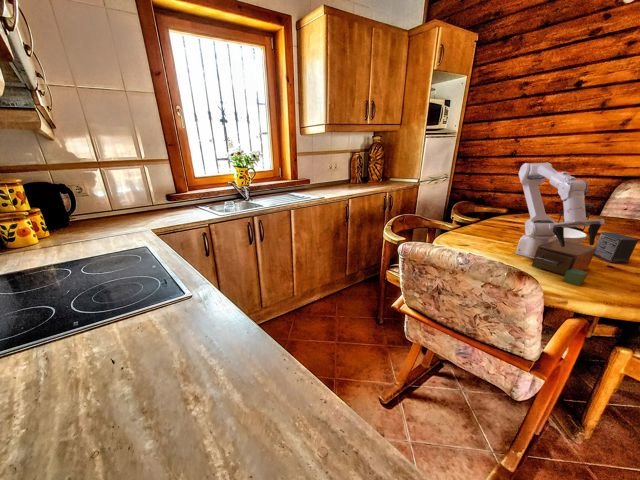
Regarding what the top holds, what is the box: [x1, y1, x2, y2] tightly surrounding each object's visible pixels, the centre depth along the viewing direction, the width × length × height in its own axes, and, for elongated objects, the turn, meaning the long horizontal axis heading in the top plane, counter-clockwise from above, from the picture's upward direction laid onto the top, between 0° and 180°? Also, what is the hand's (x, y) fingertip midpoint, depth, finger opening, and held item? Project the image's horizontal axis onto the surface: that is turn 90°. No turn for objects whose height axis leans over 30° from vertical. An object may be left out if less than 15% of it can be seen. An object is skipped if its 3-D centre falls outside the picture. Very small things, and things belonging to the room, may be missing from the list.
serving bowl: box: [548, 228, 588, 245], centre depth 138 cm, size 21×21×7 cm
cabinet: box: [531, 240, 596, 276], centre depth 114 cm, size 15×13×9 cm
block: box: [562, 268, 589, 286], centre depth 103 cm, size 4×4×4 cm
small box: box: [593, 231, 639, 264], centre depth 119 cm, size 11×6×10 cm, turn 168°
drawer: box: [531, 249, 574, 276], centre depth 112 cm, size 18×11×7 cm, turn 115°
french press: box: [557, 190, 595, 233], centre depth 146 cm, size 12×9×23 cm
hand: (577, 245), depth 104 cm, fingers open, 7 cm apart
